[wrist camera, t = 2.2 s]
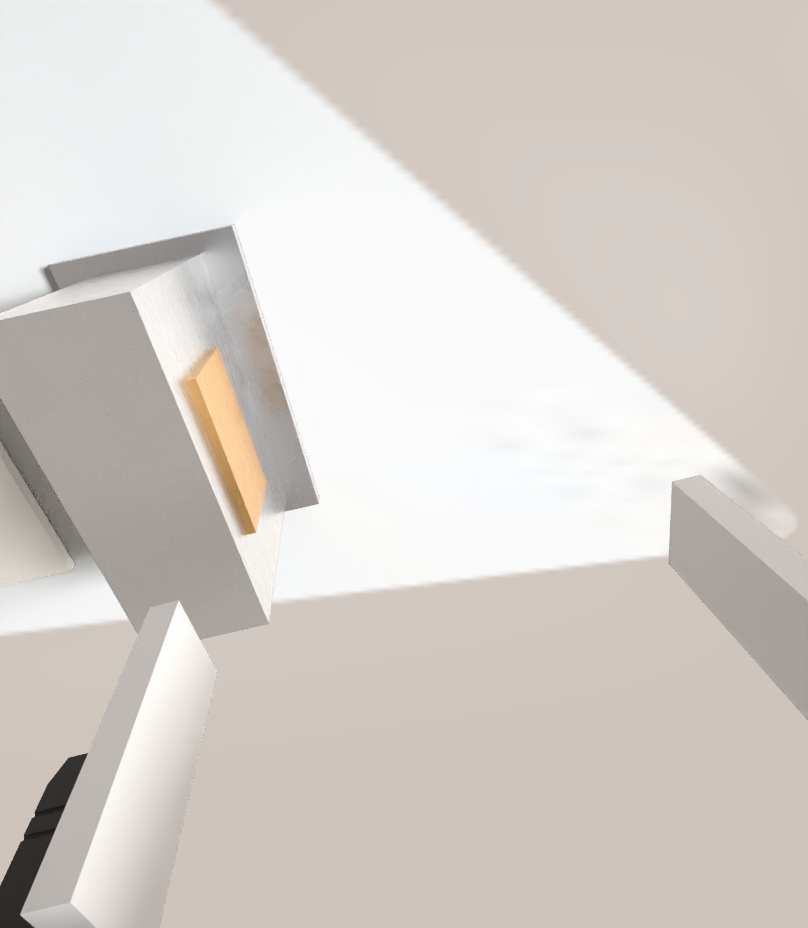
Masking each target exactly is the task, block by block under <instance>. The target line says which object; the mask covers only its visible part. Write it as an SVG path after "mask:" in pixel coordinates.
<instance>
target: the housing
mask: <svg viewBox="0 0 808 928" xmlns="http://www.w3.org/2000/svg"><path fill="white" fill-rule="evenodd" d="M48 267H49V269H50V271H51V274H52V276H53V278H54V280H55V282H56V284H57V286H58V288H59V290H58V291H55V292H53V293H50V294H47V295H45V296H42V297H40V298H37V299H35V300H32V301H30V302H27V303H24V304H22V305H19V306H17V307H14V308H12V309H9V310H6V311H4V312H1V313H0V399H1V400H2V402H3V404H4V405H5V407H6V409H7V411H8V412H9V414H10V416H11V417H12V419H13V421H14V423H15V424H16V426H17V428H18V429H19V431H20V433H21V435H22V436H23V438H24V440H25V441H26V443H27V445H28V447H29V448H30V450H31V452H32V454H33V455H34V457H35V459H36V460H37V462H38V464H39V466H40V467H41V469H42V471H43V472H44V474H45V476H46V478H47V479H48V481H49V483H50V484H51V486H52V488H53V490H54V491H55V493H56V495H57V496H58V498H59V500H60V502H61V503H62V505H63V507H64V508H65V510H66V512H67V514H68V515H69V517H70V519H71V521H72V522H73V524H74V526H75V527H76V529H77V531H78V533H79V534H80V536H81V538H82V539H83V541H84V543H85V545H86V546H87V548H88V550H89V551H90V553H91V555H92V557H93V558H94V560H95V562H96V563H97V565H98V567H99V569H100V570H101V572H102V574H103V576H104V577H105V579H106V581H107V582H108V584H109V586H110V588H111V589H112V591H113V593H114V594H115V596H116V598H117V600H118V601H119V603H120V605H121V606H122V608H123V610H124V612H125V613H126V615H127V617H128V618H129V620H130V622H131V624H132V625H133V627H134V629H135V630H136V632H137V634H139V631H140V629H141V627H142V624H143V622H144V619H145V617H146V615H147V612H148V610H149V608H150V607H153V606H157V605H161V604H166V603H170V602H174V601H178V600H179V602H180V604H181V605H182V607H183V609H184V611H185V613H186V615H187V617H188V619H189V620H190V622H191V624H192V626H193V628H194V630H195V632H196V633H197V635H198V637H199V639H204V638H209V637H213V636H218V635H222V634H226V633H230V632H235V631H239V630H244V629H248V628H252V627H257V626H261V625H265V624H269V619H270V612H271V605H272V598H273V590H274V583H275V576H276V569H277V562H278V555H279V548H280V540H281V533H282V526H283V519H284V512H285V511H289V510H293V509H298V508H302V507H307V506H311V505H316V504H319V494H318V491H317V488H316V485H315V482H314V478H313V475H312V472H311V469H310V465H309V462H308V459H307V456H306V453H305V449H304V446H303V443H302V440H301V436H300V433H299V430H298V427H297V424H296V420H295V417H294V414H293V411H292V407H291V404H290V401H289V398H288V395H287V391H286V388H285V385H284V382H283V378H282V375H281V372H280V369H279V366H278V362H277V359H276V356H275V353H274V349H273V346H272V343H271V340H270V337H269V333H268V330H267V327H266V324H265V320H264V317H263V314H262V311H261V308H260V304H259V301H258V298H257V295H256V291H255V288H254V285H253V282H252V279H251V275H250V272H249V269H248V266H247V262H246V259H245V256H244V253H243V250H242V246H241V243H240V240H239V237H238V233H237V230H236V227H235V225H230V226H225V227H221V228H216V229H211V230H207V231H202V232H198V233H193V234H188V235H184V236H179V237H174V238H170V239H165V240H160V241H156V242H151V243H147V244H142V245H137V246H133V247H128V248H123V249H119V250H114V251H109V252H105V253H100V254H96V255H91V256H86V257H82V258H77V259H72V260H68V261H63V262H58V263H54V264H51V265H48Z"/></svg>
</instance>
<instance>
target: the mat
mask: <svg viewBox="0 0 808 928" xmlns="http://www.w3.org/2000/svg"><path fill="white" fill-rule="evenodd" d="M74 565H75V563H74V562H73V560H72V558H71V557H70V555H69V553H68V552H67V550H66V548H65V547H64V545H63V543H62V542H61V540H60V538H59V537H58V535H57V534H56V532H55V530H54V529H53V527H52V525H51V524H50V522H49V520H48V519H47V517H46V515H45V514H44V512H43V510H42V509H41V507H40V505H39V504H38V502H37V501H36V499H35V497H34V496H33V494H32V492H31V491H30V489H29V487H28V486H27V484H26V482H25V481H24V479H23V477H22V476H21V474H20V473H19V471H18V469H17V468H16V466H15V464H14V463H13V461H12V459H11V458H10V456H9V454H8V453H7V451H6V449H5V448H4V446H3V444H2V443H1V441H0V587H3V586H7V585H12V584H16V583H21V582H25V581H29V580H34V579H38V578H43V577H47V576H52V575H56V574H60V573H65V572H69V571H71V569H72V568H73V566H74Z"/></svg>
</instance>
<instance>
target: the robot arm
mask: <svg viewBox="0 0 808 928" xmlns="http://www.w3.org/2000/svg"><path fill="white" fill-rule="evenodd" d="M669 564H670V566H671V567H672V568H673V569H674V570H675V571H676V572H677V573H678V575H679V576H680V577H681V578H682V579H683V580H684V581H685V582H686V584H687V585H688V586H689V587H690V588H691V589H692V590H693V591H694V593H695V594H696V595H697V596H698V597H699V598H700V599H701V600H702V602H703V603H704V604H705V605H706V606H707V607H708V608H709V609H710V611H711V612H712V613H713V614H714V615H715V616H716V617H717V619H718V620H719V621H720V622H721V623H722V624H723V625H724V626H725V628H726V629H727V630H728V631H729V632H730V633H731V634H732V635H733V637H734V638H735V639H736V640H737V641H738V642H739V643H740V644H741V646H742V647H743V648H744V649H745V650H746V651H747V652H748V653H749V655H751V657H752V658H753V659H754V660H755V661H756V663H757V664H758V665H759V666H760V667H761V668H762V669H763V670H764V672H765V673H766V674H767V675H768V676H769V677H770V678H771V679H772V681H773V682H774V683H775V684H776V685H777V686H778V687H779V688H780V689H781V691H782V692H783V693H784V694H785V695H786V696H787V697H788V699H789V700H790V701H791V702H792V703H793V704H794V705H795V706H796V708H797V709H798V710H799V711H800V712H801V713H802V714H803V715H804V716H805V718H806V719H807V720H808V560H807V559H806V558H805V557H804V556H802V555H801V554H800V553H798V552H797V551H796V550H795V549H793V548H792V547H791V546H789V545H788V544H787V543H786V542H785V541H783V540H782V539H781V538H780V537H778V536H777V535H776V534H775V533H773V532H772V531H771V530H769V529H768V528H767V527H766V526H764V525H763V524H762V523H761V522H759V521H758V520H757V519H756V518H754V517H753V516H752V515H751V514H749V513H748V512H747V511H745V510H744V509H743V508H742V507H740V506H739V505H738V504H737V503H735V502H734V501H733V500H732V499H730V498H729V497H728V496H727V495H725V494H724V493H723V492H721V491H720V490H719V489H718V488H716V487H715V486H714V485H713V484H711V483H710V482H709V481H708V480H706V479H705V478H704V477H703V476H701V475H698V476H694V477H690V478H686V479H682V480H677V481H673V482H672V496H671V520H670V543H669ZM216 677H217V671H216V669H215V667H214V666H213V664H212V662H211V660H210V658H209V656H208V654H207V652H206V651H205V648H204V647H203V645H202V643H201V641H200V639H199V637H198V635H197V633H196V632H195V630H194V628H193V626H192V624H191V622H190V620H189V619H188V617H187V615H186V613H185V611H184V609H183V607H182V605H181V604H180V602H179V600H178V601H174V602H170V603H166V604H161V605H157V606H153V607H150V608H149V610H148V612H147V615H146V617H145V619H144V622H143V624H142V627H141V629H140V631H139V634H138V636H137V639H136V641H135V643H134V646H133V648H132V650H131V653H130V655H129V657H128V660H127V662H126V665H125V667H124V669H123V672H122V674H121V676H120V679H119V681H118V684H117V686H116V688H115V691H114V693H113V695H112V698H111V700H110V703H109V705H108V707H107V710H106V712H105V714H104V717H103V719H102V721H101V724H100V726H99V729H98V731H97V733H96V736H95V738H94V740H93V743H92V745H91V747H90V750H89V752H88V753H87V754H83V755H78V756H74V757H70V758H68V759H67V761H66V762H65V763H64V764H63V766H62V767H61V768H60V770H59V771H58V772H57V773H56V775H55V776H54V777H53V778H52V780H51V781H50V782H49V784H48V785H47V787H46V789H45V791H44V794H43V796H42V798H41V800H40V802H39V804H38V806H37V809H36V811H35V817H34V818H32V819H31V821H30V823H29V826H28V828H27V830H26V832H25V834H24V841H22V842H21V843H20V845H19V847H18V850H17V851H16V853H15V856H14V858H13V860H12V862H11V864H10V866H9V869H8V870H7V873H6V875H5V877H4V879H3V881H2V883H1V886H0V928H159V927H160V923H161V919H162V914H163V910H164V905H165V901H166V896H167V892H168V888H169V884H170V879H171V875H172V870H173V866H174V862H175V857H176V853H177V848H178V844H179V839H180V835H181V831H182V826H183V822H184V818H185V813H186V809H187V804H188V800H189V796H190V791H191V787H192V783H193V778H194V773H195V769H196V765H197V760H198V756H199V752H200V747H201V743H202V739H203V734H204V730H205V725H206V721H207V717H208V712H209V708H210V703H211V699H212V695H213V690H214V686H215V681H216Z"/></svg>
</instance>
